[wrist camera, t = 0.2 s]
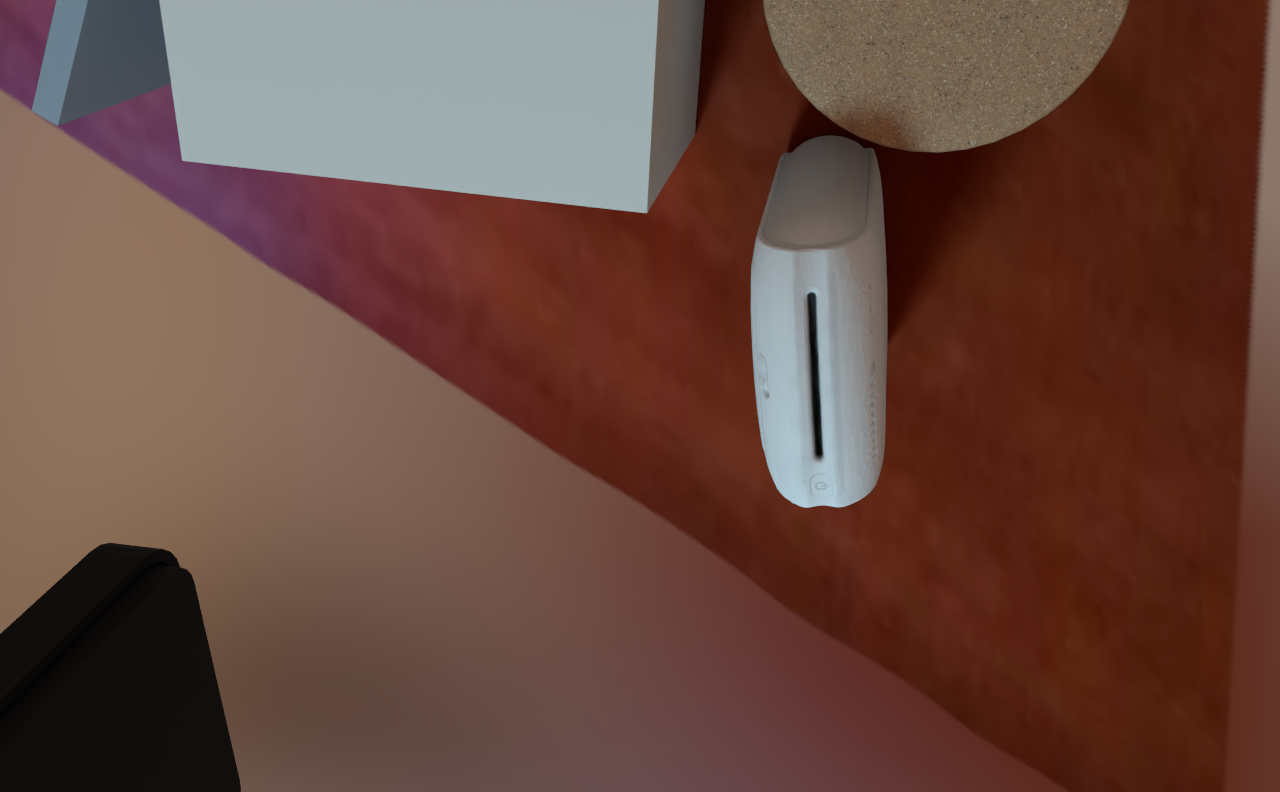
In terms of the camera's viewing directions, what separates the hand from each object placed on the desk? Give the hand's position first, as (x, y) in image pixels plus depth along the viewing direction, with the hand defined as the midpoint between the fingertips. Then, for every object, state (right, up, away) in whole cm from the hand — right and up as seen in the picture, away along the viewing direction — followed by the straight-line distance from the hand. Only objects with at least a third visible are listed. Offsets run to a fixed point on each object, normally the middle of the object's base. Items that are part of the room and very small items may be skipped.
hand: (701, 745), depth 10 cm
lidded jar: (+10, +19, +30) cm, 37 cm away
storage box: (-6, +19, +33) cm, 39 cm away
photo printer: (+7, +9, +36) cm, 38 cm away
